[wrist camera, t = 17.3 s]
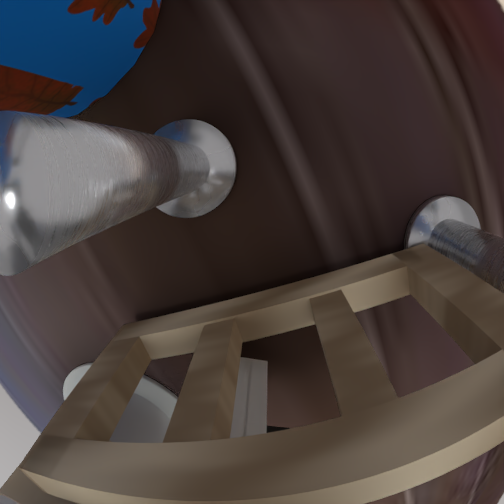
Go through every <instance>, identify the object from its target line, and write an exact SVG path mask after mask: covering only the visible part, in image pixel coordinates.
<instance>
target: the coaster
mask: <svg viewBox="0 0 504 504" xmlns="http://www.w3.org/2000/svg"><path fill="white" fill-rule="evenodd" d="M93 363H94V362H93ZM93 363H86V364H82V365H80V366H78V367H76V368H75V369H74V370H72V371H71V372H70V374H69V375H68V376H67V378H66V379H65V382H64V386H63V396H64V400H66V398H67V397H68V396H69V394H70V393H71V392H72V390H73V389H74V388H75V386H76V385H77V384H78V382H79V381H80V380H81V378H82V377H83V376H84V374H85V373H86V372H87V370H88V369H89V368H90V367H91V365H92V364H93ZM134 393H136V394H138V395H140V396H142V397H143V398H145V399H147V400H148V401H150V402H151V403H153V404H154V405H156V406H157V407H158V408H159V409H160V410H162V411H163V412H164V413H165V414H166V415H167V416H168V418H169V419H170V420H171V417H172V414H173V411H174V408H175V405H176V402H177V400H178V397H177V396H176V395H175V394H174V393H173V392H171V391H170V390H169V389H167V388H166V387H164V386H163V385H161V384H160V383H158V382H156V381H155V380H153V379H151V378H149V377H147V376H145V375H144V374H143V376H142V378H141V380H140V382H139V384H138V386H137V388H136V389H135V391H134Z"/></svg>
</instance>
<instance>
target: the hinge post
mask: <svg viewBox="0 0 504 504" xmlns="http://www.w3.org/2000/svg"><path fill="white" fill-rule="evenodd" d="M420 244H425V245H427V246H429V247H430V248H432V249H434V250H435V251H437V252H439V253H441V254H442V255H444V256H446V257H447V258H449V259H451V260H452V261H454V262H455V263H457V264H459V265H460V266H462V267H464V268H465V269H467V270H468V271H470V272H471V273H473V274H475V275H476V276H478V277H479V278H481V279H482V280H484V281H485V282H487V283H488V284H490V285H491V286H493V287H494V288H496V289H497V290H499V291H500V292H502V293H503V294H504V239H503V238H501V237H498V236H496V235H494V234H491V233H489V232H486V231H484V230H481V229H480V224H479V220H478V218H477V215H476V213H475V211H474V210H473V209H472V207H471V206H470V205H469V204H468V203H467V202H465V201H464V200H462V199H460V198H456V197H452V196H448V195H440V196H435V197H433V198H430V199H428V200H427V201H425V202H424V203H423V204H422V205H420V207H419V208H418V209H417V210H416V211H415V213H414V214H413V216H412V217H411V219H410V221H409V224H408V226H407V229H406V233H405V238H404V250H405V249H408V248H411V247H414V246H417V245H420Z"/></svg>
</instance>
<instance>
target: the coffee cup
mask: <svg viewBox="0 0 504 504" xmlns="http://www.w3.org/2000/svg"><path fill="white" fill-rule="evenodd" d="M169 423H170V419H169V418H168V416H167V415H166V414H165V413H164V412H163V411H162V410H160V409H159V408H158V407H157V406H156V405H154V404H153V403H151V402H150V401H148V400H147V399H145V398H143V397H142V396H140V395H138V394H136V393H133V395H132V397H131V399H130V401H129V403H128V405H127V407H126V408H125V410H124V412H123V414H122V416H121V418H120V420H119V422H118V424H117V426H116V428H115V430H114V432H113V434H112V436H111V438H110V440H109V442H125V443H163V440H164V437H165V434H166V431H167V428H168V425H169ZM21 463H22V462H21ZM19 466H20V465H19ZM19 466H18V467H19ZM18 467H17V468H16V470H15V471H14V472H13V473H12V475H11V476H10V477H9V478H8V480H7V481H6V482H5V484H4V485H3V486H2V487H1V489H0V504H79V503H75V502H72V501H69V500H66V499H62V498H59V497H56V496H54V495H51V494H48V493H45V492H44V491H42V490H41V489H40V488H39V487H38V486H37V485H36V484H35V483H34V482H33V481H32V480H31V479H29V478H28V477H27V476H26V475H25V474H24V473H23V472H22V471H21V470H20V469H19V468H18Z"/></svg>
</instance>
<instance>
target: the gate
mask: <svg viewBox="0 0 504 504" xmlns="http://www.w3.org/2000/svg"><path fill="white" fill-rule="evenodd" d="M409 294H411V295H412V296H413V297H414V298H415V299H416V300H417V301H418V303H419V304H420V305H421V306H422V307H423V308H424V309H425V310H426V311H427V312H428V313H429V314H430V315H431V316H432V317H433V318H434V319H435V320H436V321H437V322H438V323H439V324H440V325H441V327H442V328H443V329H444V330H445V331H446V332H447V333H448V334H449V335H450V336H451V337H452V338H453V340H454V341H455V342H456V343H457V344H458V345H459V346H460V347H461V348H462V350H463V351H464V352H465V353H466V354H467V355H468V356H469V357H470V359H471V360H472V361H473V362H474V363H475V365H473V366H471V367H469V368H467V369H465V370H463V371H461V372H459V373H457V374H455V375H453V376H450V377H448V378H446V379H444V380H442V381H439V382H437V383H435V384H433V385H430V386H428V387H426V388H423V389H421V390H418V391H416V392H413V393H411V394H408V395H406V396H403V397H400V398H398V396H397V394H396V392H395V390H394V388H393V386H392V384H391V382H390V380H389V378H388V376H387V374H386V372H385V370H384V368H383V366H382V364H381V362H380V361H379V359H378V357H377V355H376V353H375V351H374V349H373V347H372V345H371V343H370V341H369V339H368V338H367V336H366V334H365V332H364V330H363V328H362V326H361V325H360V323H359V321H358V319H357V317H356V315H355V314H354V313H355V312H358V311H361V310H365V309H368V308H371V307H374V306H377V305H380V304H383V303H386V302H389V301H392V300H395V299H398V298H401V297H404V296H406V295H409ZM314 324H316V328H317V331H318V335H319V338H320V342H321V345H322V349H323V352H324V356H325V360H326V363H327V367H328V371H329V374H330V378H331V382H332V386H333V389H334V393H335V397H336V401H337V405H338V409H339V413H340V417H338V418H334V419H330V420H326V421H322V422H318V423H314V424H310V425H305V426H301V427H296V428H291V429H286V430H281V431H276V432H270V433H264V434H258V435H251V436H244V437H236V438H230V433H231V426H232V418H233V411H234V403H235V395H236V388H237V380H238V372H239V365H240V357H241V349H242V342H246V341H251V340H255V339H259V338H264V337H268V336H272V335H276V334H280V333H284V332H288V331H292V330H295V329H299V328H303V327H307V326H310V325H314ZM193 352H194V355H193V357H192V360H191V363H190V366H189V369H188V371H187V374H186V377H185V380H184V383H183V385H182V388H181V391H180V394H179V397H178V400H177V402H176V405H175V408H174V411H173V414H172V417H171V420H170V423H169V425H168V428H167V431H166V434H165V437H164V440H163V443H125V442H109V440H110V438H111V436H112V434H113V432H114V430H115V428H116V426H117V424H118V422H119V420H120V418H121V416H122V414H123V412H124V410H125V408H126V407H127V405H128V403H129V401H130V399H131V397H132V395H133V393H134V391H135V389H136V388H137V386H138V384H139V382H140V380H141V378H142V376H143V374H144V373H145V371H146V369H147V367H148V365H149V363H150V361H151V360H153V359H159V358H165V357H171V356H177V355H182V354H188V353H193ZM503 441H504V294H503V293H502V292H500V291H499V290H497V289H496V288H494V287H493V286H491V285H490V284H488V283H487V282H485V281H484V280H482V279H481V278H479V277H478V276H476V275H475V274H473V273H471V272H470V271H468V270H467V269H465V268H464V267H462V266H460V265H459V264H457V263H455V262H454V261H452V260H451V259H449V258H447V257H446V256H444V255H442V254H441V253H439V252H437V251H435V250H434V249H432V248H430V247H429V246H427V245H425V244H420V245H417V246H414V247H411V248H408V249H405V250H402V251H398V252H395V253H392V254H389V255H386V256H382V257H379V258H376V259H373V260H369V261H366V262H363V263H360V264H356V265H353V266H350V267H346V268H343V269H339V270H336V271H333V272H329V273H326V274H322V275H319V276H315V277H312V278H308V279H305V280H301V281H298V282H294V283H290V284H287V285H283V286H279V287H276V288H272V289H268V290H264V291H261V292H257V293H253V294H249V295H245V296H242V297H238V298H234V299H230V300H226V301H222V302H218V303H214V304H210V305H206V306H202V307H198V308H194V309H189V310H185V311H181V312H177V313H173V314H168V315H164V316H160V317H155V318H151V319H146V320H142V321H137V322H133V323H128V324H124V325H123V326H122V327H121V329H120V330H119V331H118V332H117V334H116V335H115V336H114V337H113V339H112V340H111V341H110V342H109V344H108V345H107V346H106V347H105V349H104V350H103V351H102V352H101V354H100V355H99V356H98V358H97V359H96V360H95V361H94V363H93V364H92V365H91V367H90V368H89V369H88V370H87V372H86V373H85V374H84V376H83V377H82V378H81V380H80V381H79V382H78V384H77V385H76V386H75V388H74V389H73V390H72V392H71V393H70V394H69V396H68V397H67V398H66V400H65V401H64V402H63V404H62V405H61V407H60V408H59V409H58V411H57V412H56V413H55V415H54V416H53V418H52V419H51V420H50V422H49V423H48V425H47V426H46V427H45V429H44V430H43V432H42V433H41V435H40V436H39V437H38V439H37V440H36V442H35V443H34V445H33V446H32V448H31V449H30V451H29V452H28V454H27V455H26V457H25V458H24V460H23V461H22V463H21V464H20V466H19V467H18V468H19V469H20V470H21V471H22V472H23V473H24V474H25V475H26V476H27V477H28V478H29V479H31V480H32V481H33V482H34V483H35V484H36V485H37V486H38V487H39V488H40V489H41V490H42V491H44V492H45V493H48V494H51V495H54V496H56V497H59V498H62V499H66V500H69V501H72V502H75V503H79V504H364V503H368V502H371V501H375V500H378V499H381V498H384V497H387V496H390V495H393V494H396V493H399V492H402V491H404V490H407V489H410V488H412V487H415V486H417V485H420V484H422V483H425V482H427V481H430V480H432V479H434V478H436V477H439V476H441V475H443V474H445V473H447V472H449V471H451V470H453V469H455V468H457V467H459V466H461V465H463V464H465V463H467V462H469V461H471V460H473V459H474V458H476V457H478V456H480V455H481V454H483V453H485V452H487V451H488V450H490V449H492V448H493V447H495V446H496V445H498V444H500V443H501V442H503Z"/></svg>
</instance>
